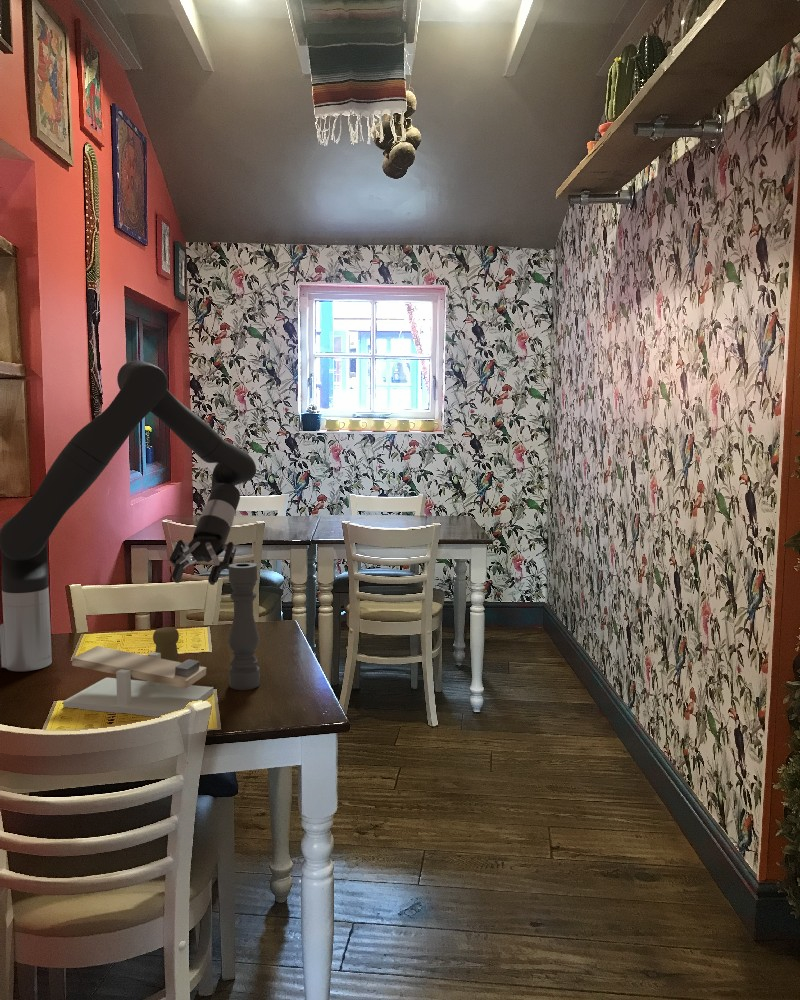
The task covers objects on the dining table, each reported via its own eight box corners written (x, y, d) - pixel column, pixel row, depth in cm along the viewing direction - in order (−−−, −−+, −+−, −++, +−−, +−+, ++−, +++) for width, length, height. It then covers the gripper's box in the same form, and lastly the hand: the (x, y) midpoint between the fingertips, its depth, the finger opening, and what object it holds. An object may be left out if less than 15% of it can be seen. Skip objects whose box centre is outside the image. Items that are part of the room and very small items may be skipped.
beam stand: (63, 707, 151) (61, 668, 150) (106, 683, 164) (105, 647, 163) (178, 719, 145) (177, 678, 144) (213, 693, 159) (212, 656, 158)
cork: (173, 685, 163) (172, 633, 162) (146, 683, 164) (144, 631, 163) (187, 676, 169) (185, 625, 168) (160, 673, 170) (159, 623, 169)
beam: (71, 669, 153) (72, 649, 152) (96, 657, 160) (97, 638, 160) (185, 692, 148) (187, 672, 147) (205, 678, 155) (207, 659, 155)
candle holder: (230, 691, 160) (228, 568, 157) (228, 681, 166) (226, 563, 163) (261, 688, 162) (259, 567, 159) (258, 678, 167) (256, 561, 165)
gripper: (181, 513, 185) (157, 571, 175) (238, 514, 182) (217, 574, 172) (192, 532, 191) (170, 589, 181) (248, 534, 187) (228, 592, 178)
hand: (193, 582), depth 176 cm, fingers open, 8 cm apart
